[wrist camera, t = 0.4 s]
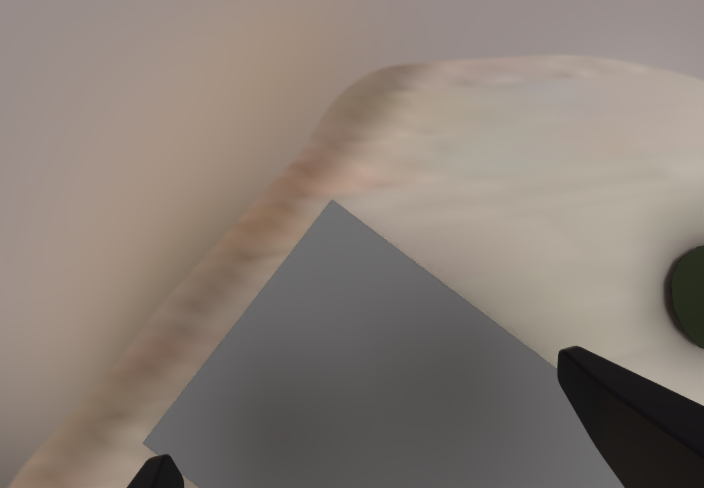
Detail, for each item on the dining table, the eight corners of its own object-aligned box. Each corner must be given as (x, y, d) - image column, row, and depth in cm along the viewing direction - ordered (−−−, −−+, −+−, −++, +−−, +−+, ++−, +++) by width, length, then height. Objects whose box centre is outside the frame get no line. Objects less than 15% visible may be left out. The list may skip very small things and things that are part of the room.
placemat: (675, 460, 24) (684, 465, 24) (515, 725, 22) (520, 737, 22) (332, 201, 25) (332, 199, 24) (147, 439, 23) (142, 443, 22)
